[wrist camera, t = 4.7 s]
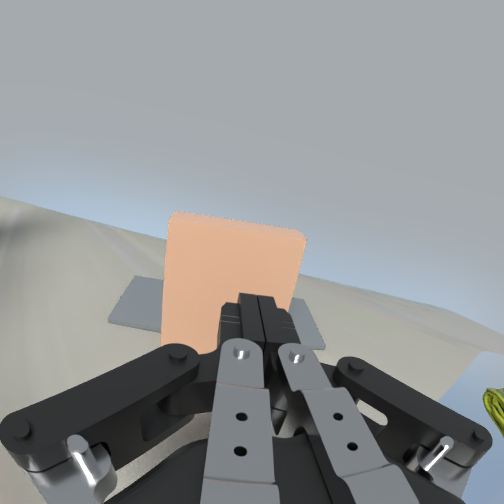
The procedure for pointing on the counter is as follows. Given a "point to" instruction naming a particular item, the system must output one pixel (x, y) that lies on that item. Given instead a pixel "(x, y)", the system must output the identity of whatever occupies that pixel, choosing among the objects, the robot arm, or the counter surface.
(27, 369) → the counter surface
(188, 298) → the tile
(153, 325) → the mat
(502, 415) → the dish towel
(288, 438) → the robot arm
